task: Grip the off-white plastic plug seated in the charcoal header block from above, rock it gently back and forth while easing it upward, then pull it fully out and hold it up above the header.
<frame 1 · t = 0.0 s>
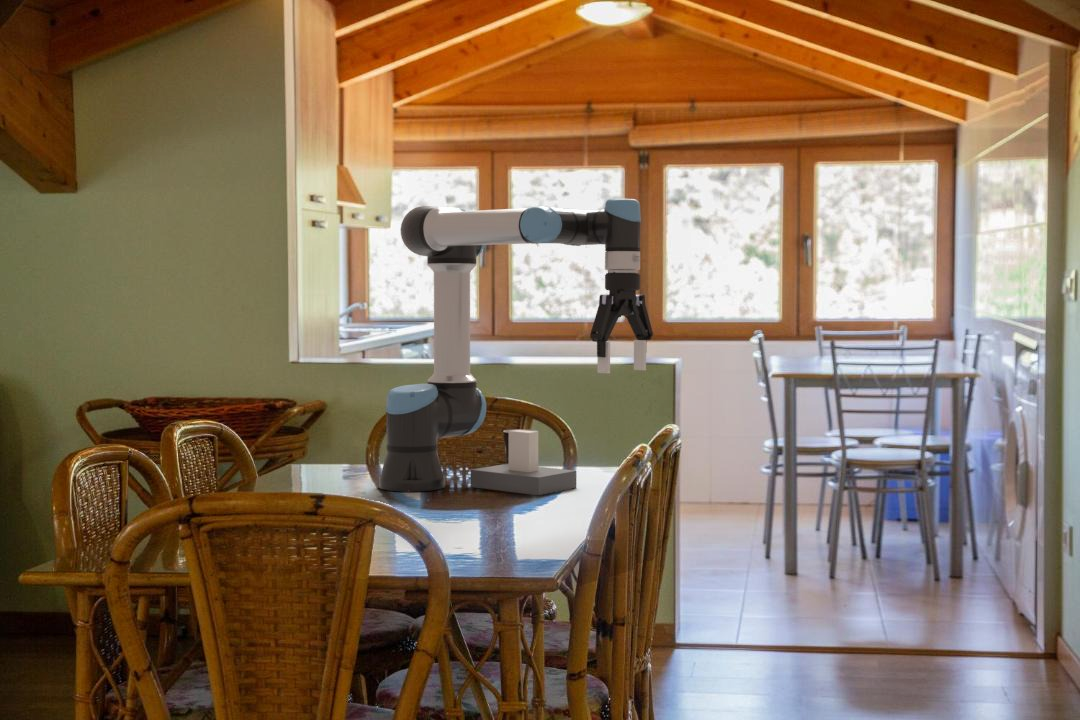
hand: (622, 371, 278), 28 cm above the table, tool pointing down, fingers open, 13 cm apart
plug: (523, 458, 299), in the header
header: (523, 487, 299), on the table
coffee mug: (517, 472, 326), on the table
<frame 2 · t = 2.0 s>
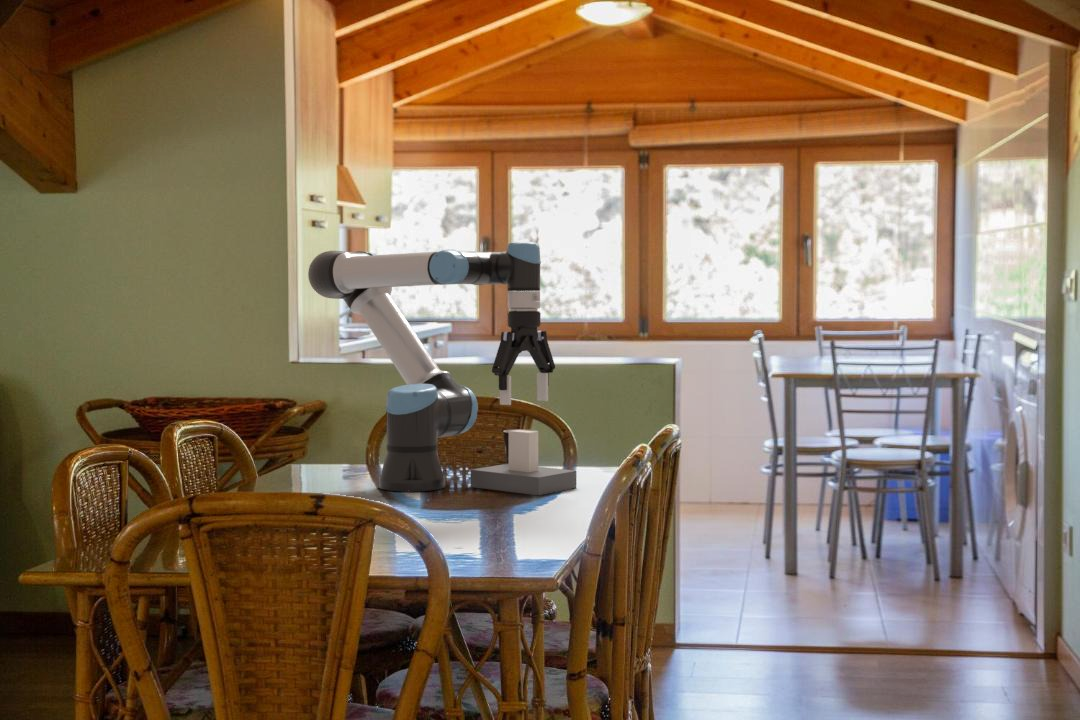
hand: (524, 402, 298), 20 cm above the table, tool pointing down, fingers open, 13 cm apart
nothing on the table moved.
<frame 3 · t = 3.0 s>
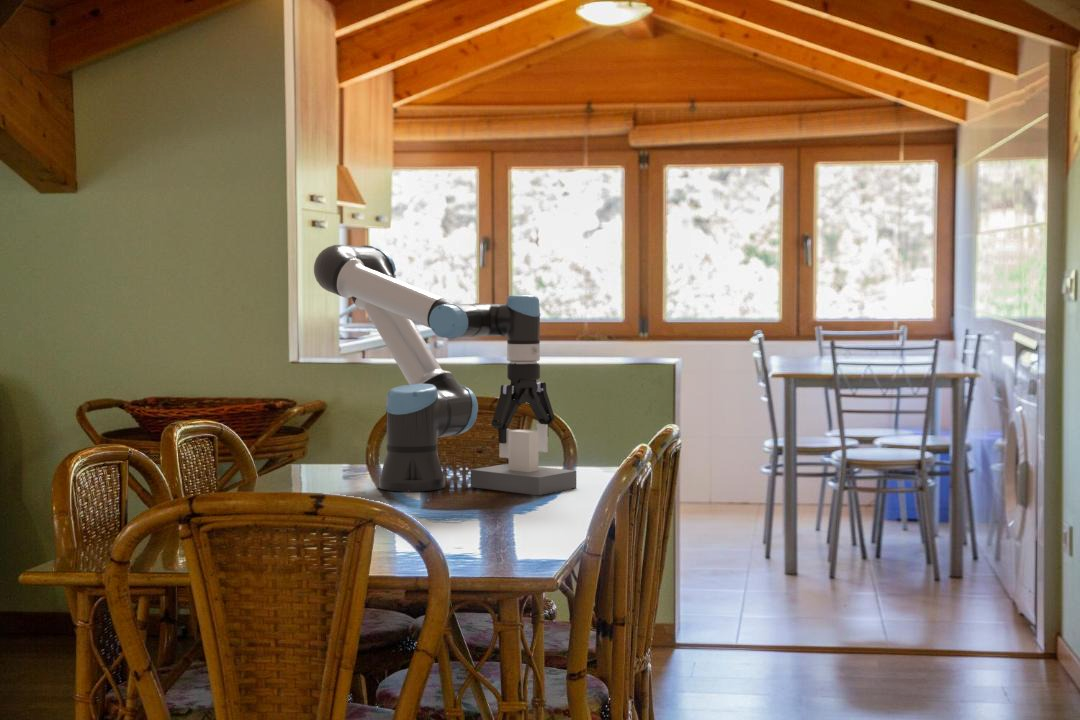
hand: (523, 454, 299), 8 cm above the table, tool pointing down, fingers open, 13 cm apart
nothing on the table moved.
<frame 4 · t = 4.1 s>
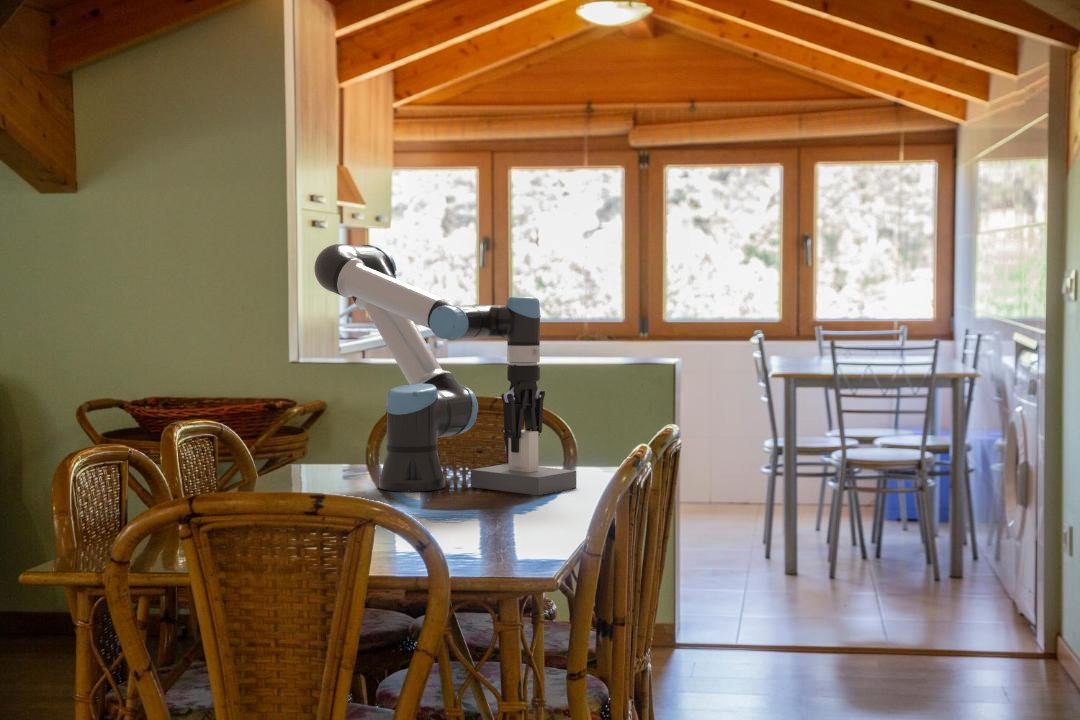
hand: (523, 465, 299), 5 cm above the table, tool pointing down, fingers closed on plug, 3 cm apart
plug: (523, 458, 299), in the header, touching gripper
everything else where it was.
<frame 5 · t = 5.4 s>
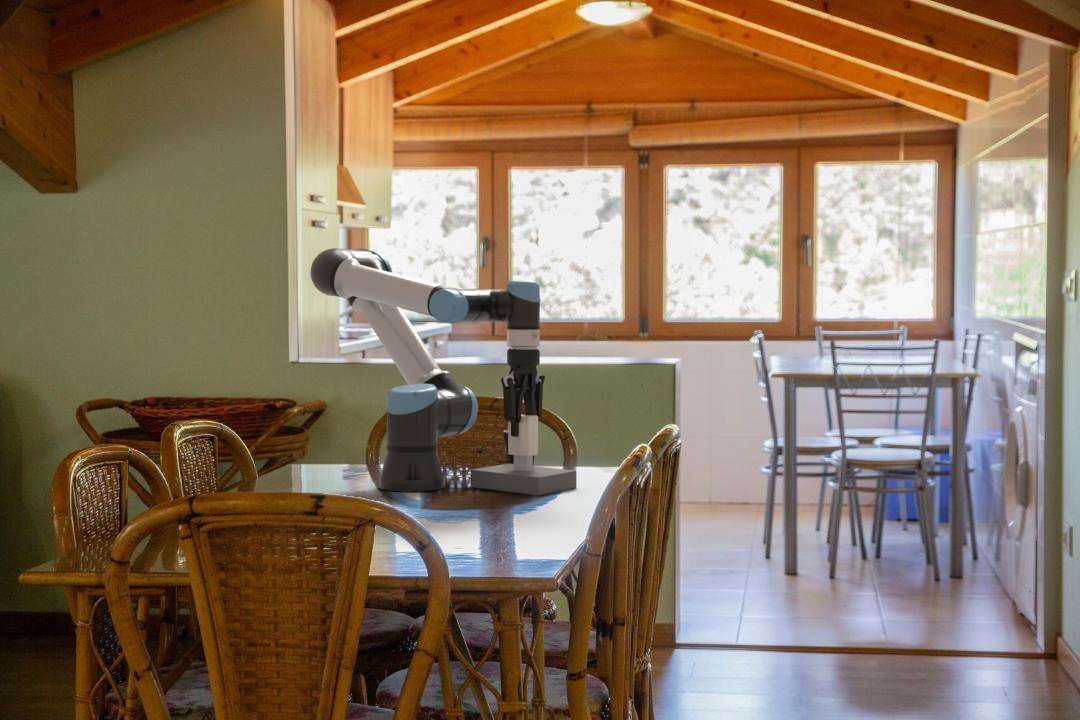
hand: (523, 449, 299), 9 cm above the table, tool pointing down, fingers closed on plug, 3 cm apart
plug: (523, 443, 299), point 10 cm above the table, touching gripper
everything else where it was.
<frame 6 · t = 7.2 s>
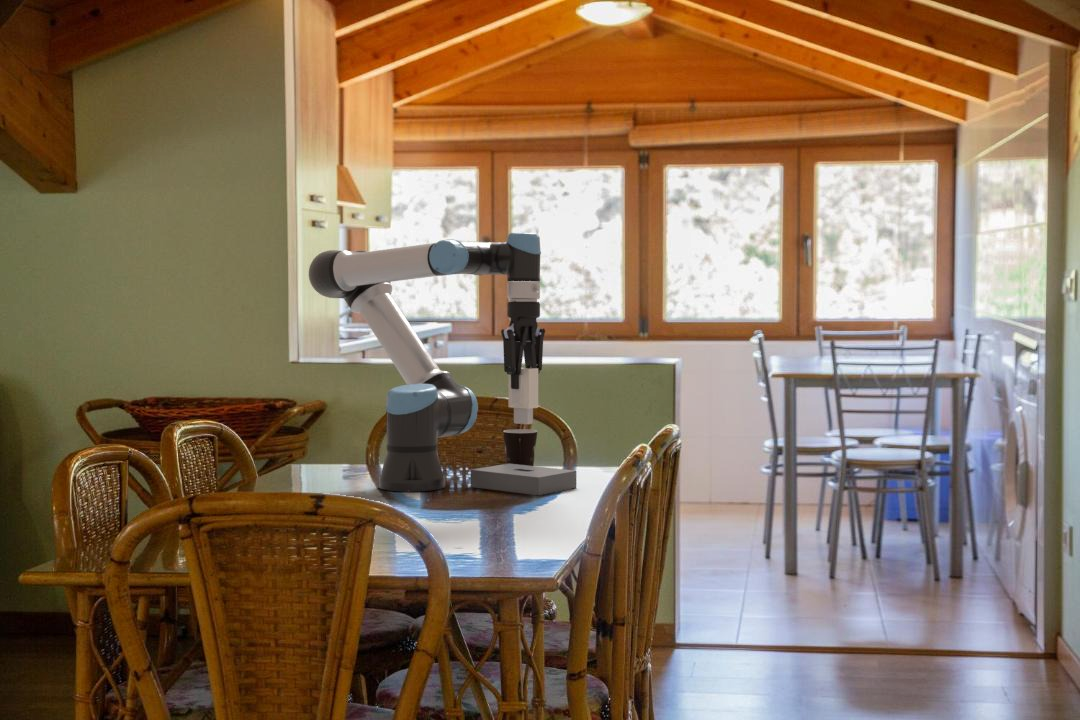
hand: (523, 402, 298), 20 cm above the table, tool pointing down, fingers closed on plug, 3 cm apart
plug: (523, 395, 298), point 21 cm above the table, touching gripper
everything else where it was.
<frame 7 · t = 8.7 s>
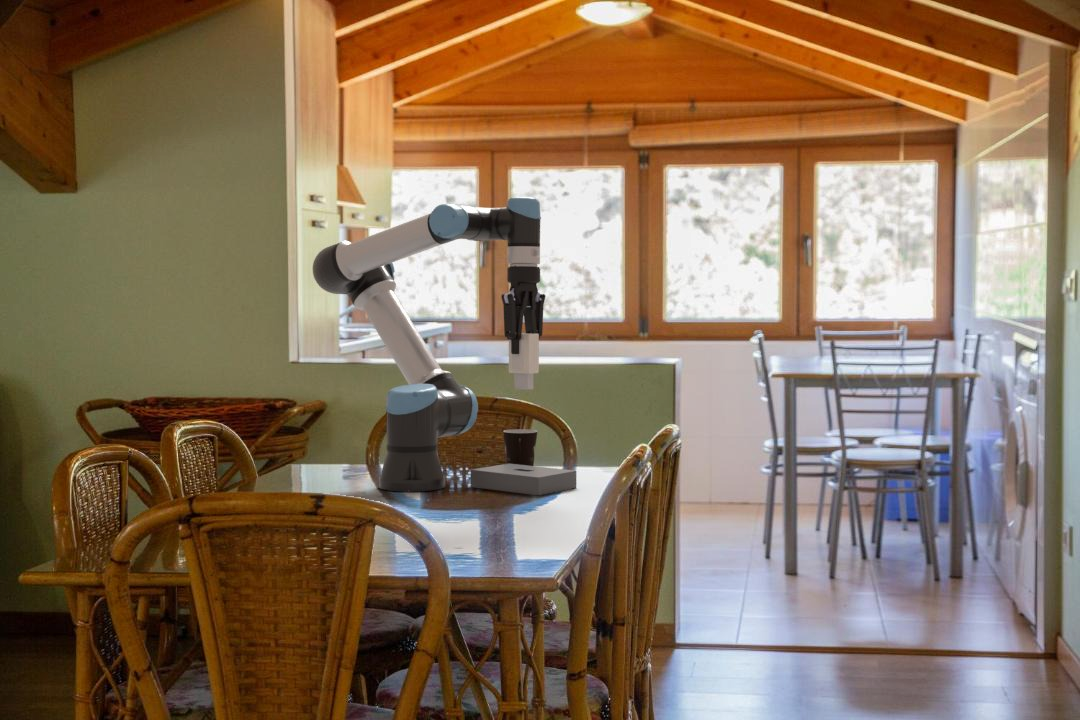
hand: (523, 368, 298), 28 cm above the table, tool pointing down, fingers closed on plug, 3 cm apart
plug: (523, 361, 298), point 29 cm above the table, touching gripper
everything else where it was.
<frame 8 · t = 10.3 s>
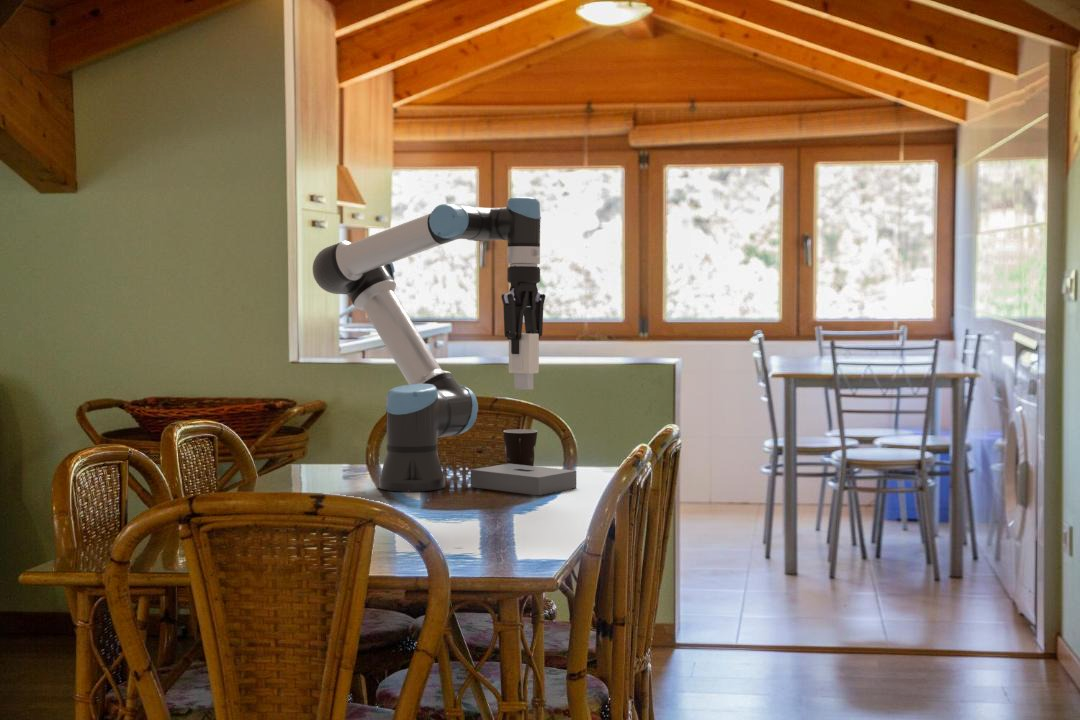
hand: (523, 368, 298), 28 cm above the table, tool pointing down, fingers closed on plug, 3 cm apart
plug: (523, 361, 298), point 29 cm above the table, touching gripper
everything else where it was.
at the end: plug point 29.1 cm above the table; the gripper is holding plug; plug 0.1 cm from the header (horizontally) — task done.
